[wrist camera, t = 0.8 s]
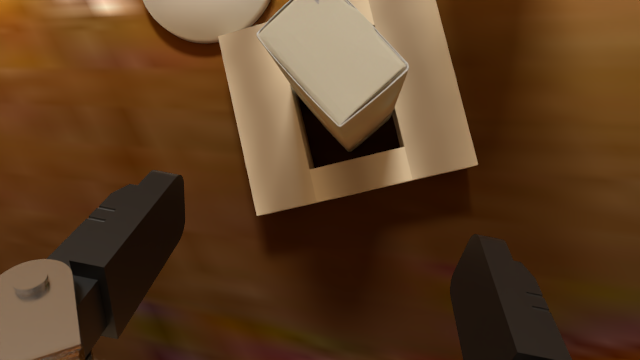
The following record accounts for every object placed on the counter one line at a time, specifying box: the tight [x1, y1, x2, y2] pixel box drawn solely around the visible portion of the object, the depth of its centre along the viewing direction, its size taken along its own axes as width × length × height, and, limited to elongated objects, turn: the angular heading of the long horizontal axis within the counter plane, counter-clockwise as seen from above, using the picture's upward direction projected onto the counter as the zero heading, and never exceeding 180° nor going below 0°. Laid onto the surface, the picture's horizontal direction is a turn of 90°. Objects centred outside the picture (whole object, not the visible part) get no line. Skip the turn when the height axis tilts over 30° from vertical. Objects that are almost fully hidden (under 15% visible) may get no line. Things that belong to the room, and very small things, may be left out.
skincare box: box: [256, 0, 409, 153], centre depth 24 cm, size 6×4×12 cm
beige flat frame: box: [218, 0, 478, 216], centre depth 29 cm, size 15×13×3 cm
